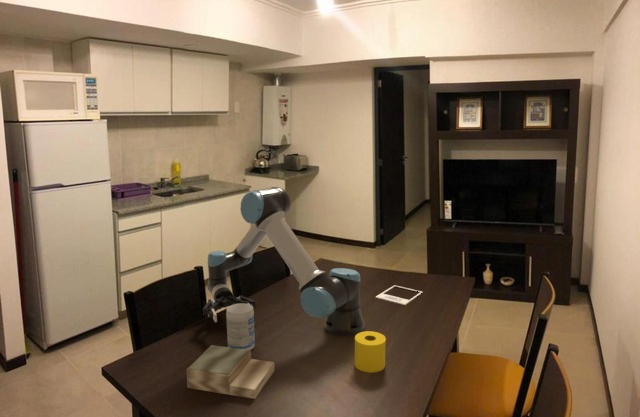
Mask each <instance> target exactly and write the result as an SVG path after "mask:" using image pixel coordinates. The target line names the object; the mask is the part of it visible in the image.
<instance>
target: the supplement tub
mask: <svg viewBox="0 0 640 417" xmlns="http://www.w3.org/2000/svg"><path fill="white" fill-rule="evenodd" d="M225 314H226V317H225V318H226V334H227V339H226V340H227V347H229V348H237V349H244V350H251V351H252V349H254V347H255V346H256V345H255V344H256V343H255V342H256V341H255V338H256V337H255V317H254V316H255V312H254V311H253V306H252V305H250V304H245V303H239V304H234V305H231V306H228V307H226V312H225Z"/></svg>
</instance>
